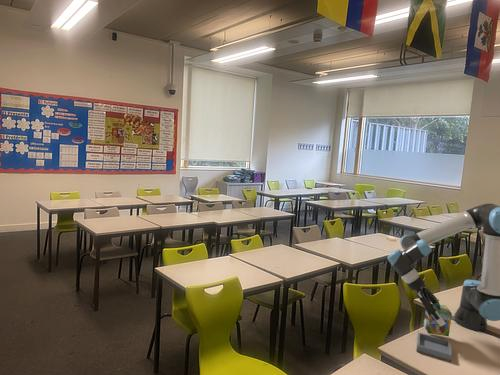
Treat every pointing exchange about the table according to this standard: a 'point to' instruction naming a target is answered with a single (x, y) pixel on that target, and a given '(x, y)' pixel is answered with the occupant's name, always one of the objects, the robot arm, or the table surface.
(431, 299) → the robot arm
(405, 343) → the table surface
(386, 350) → the table surface
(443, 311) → the chalk box
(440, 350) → the tray
